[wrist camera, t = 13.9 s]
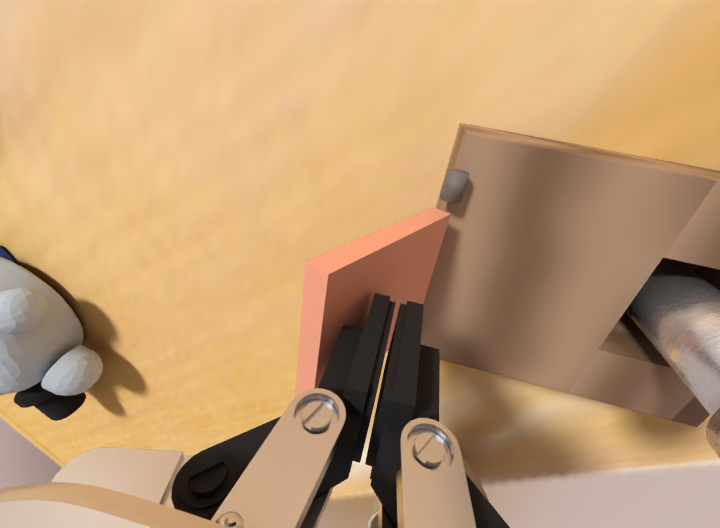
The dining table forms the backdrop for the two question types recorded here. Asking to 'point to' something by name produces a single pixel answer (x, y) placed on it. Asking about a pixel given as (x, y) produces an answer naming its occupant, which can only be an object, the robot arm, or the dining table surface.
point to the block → (566, 265)
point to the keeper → (364, 285)
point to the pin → (684, 332)
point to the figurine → (41, 345)
